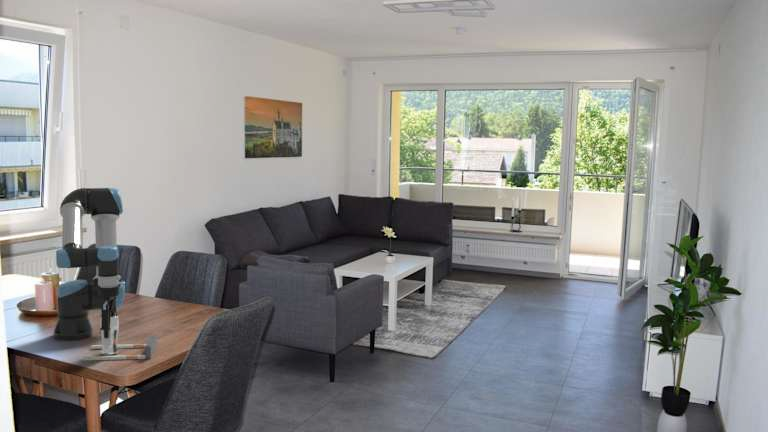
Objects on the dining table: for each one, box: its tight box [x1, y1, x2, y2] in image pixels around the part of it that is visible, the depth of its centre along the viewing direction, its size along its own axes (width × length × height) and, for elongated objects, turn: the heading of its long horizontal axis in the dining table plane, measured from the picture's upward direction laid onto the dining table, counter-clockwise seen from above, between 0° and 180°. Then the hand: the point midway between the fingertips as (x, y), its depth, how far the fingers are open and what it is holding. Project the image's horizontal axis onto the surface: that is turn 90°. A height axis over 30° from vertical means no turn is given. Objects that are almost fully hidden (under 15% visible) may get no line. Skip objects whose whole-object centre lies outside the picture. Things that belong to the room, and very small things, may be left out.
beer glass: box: [99, 313, 120, 356], centre depth 252 cm, size 7×7×15 cm
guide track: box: [81, 334, 158, 362], centre depth 253 cm, size 25×14×5 cm, turn 101°
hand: (109, 342), depth 252 cm, fingers closed on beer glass, 7 cm apart
